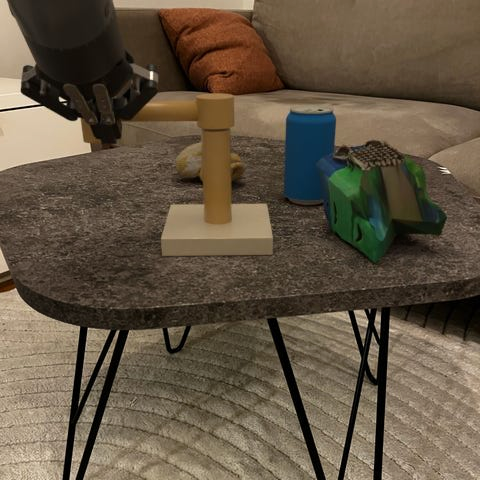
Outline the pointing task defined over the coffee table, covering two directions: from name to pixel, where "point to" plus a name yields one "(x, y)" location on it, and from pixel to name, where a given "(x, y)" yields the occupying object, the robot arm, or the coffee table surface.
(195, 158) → the seashell
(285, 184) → the beverage can
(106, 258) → the coffee table surface
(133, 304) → the coffee table surface
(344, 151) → the sculpture
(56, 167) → the coffee table surface
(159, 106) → the spout
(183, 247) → the faucet base
